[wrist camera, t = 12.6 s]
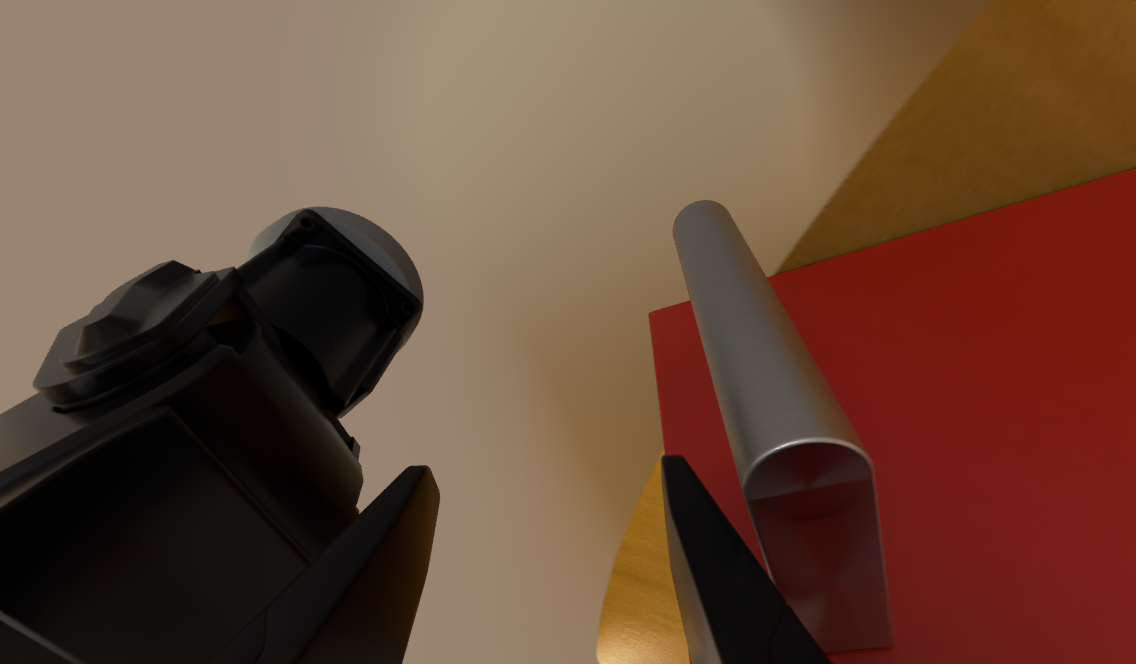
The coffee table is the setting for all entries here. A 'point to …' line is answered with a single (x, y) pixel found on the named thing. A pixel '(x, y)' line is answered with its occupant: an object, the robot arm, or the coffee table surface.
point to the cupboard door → (925, 428)
